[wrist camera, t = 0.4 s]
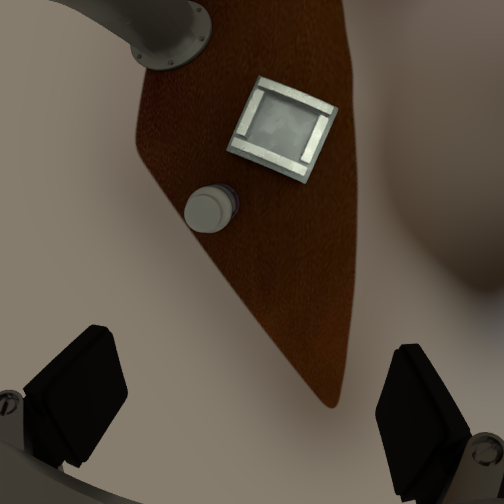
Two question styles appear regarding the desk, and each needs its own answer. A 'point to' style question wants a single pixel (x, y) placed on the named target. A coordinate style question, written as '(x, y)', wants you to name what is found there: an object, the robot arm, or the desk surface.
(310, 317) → the desk surface
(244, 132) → the grey open box
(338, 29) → the desk surface
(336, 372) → the desk surface
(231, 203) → the pill bottle
